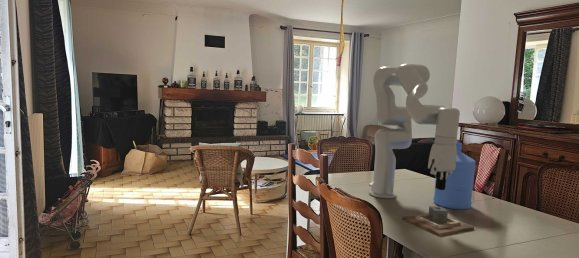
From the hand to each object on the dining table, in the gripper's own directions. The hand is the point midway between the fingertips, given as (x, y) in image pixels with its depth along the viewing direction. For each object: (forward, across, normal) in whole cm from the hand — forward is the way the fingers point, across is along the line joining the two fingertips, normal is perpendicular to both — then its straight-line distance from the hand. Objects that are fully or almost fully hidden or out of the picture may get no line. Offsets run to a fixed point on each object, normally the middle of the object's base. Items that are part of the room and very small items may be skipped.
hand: (440, 188), depth 144 cm
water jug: (+14, -27, -15) cm, 34 cm away
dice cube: (+13, 0, 0) cm, 13 cm away
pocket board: (+14, 0, +1) cm, 14 cm away
